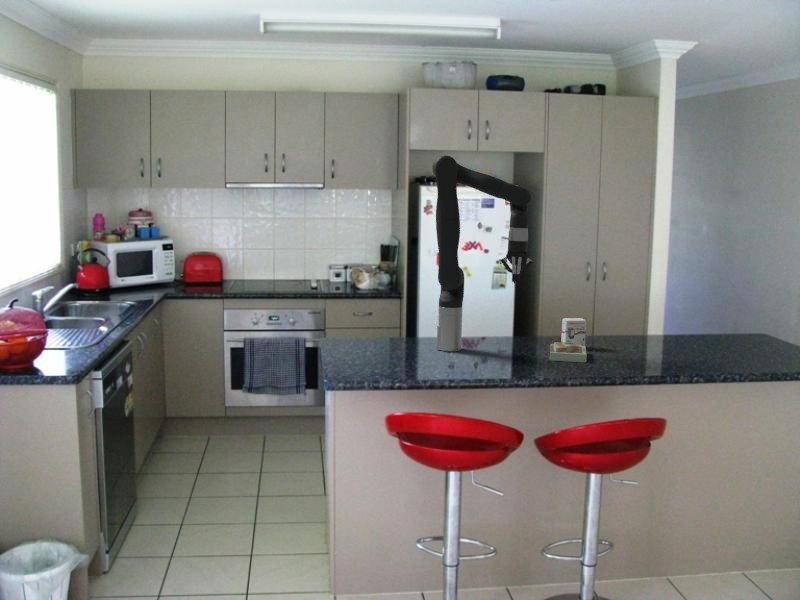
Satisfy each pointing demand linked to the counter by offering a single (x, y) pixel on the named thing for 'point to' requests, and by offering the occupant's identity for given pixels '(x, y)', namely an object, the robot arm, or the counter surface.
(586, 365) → the counter surface
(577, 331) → the ink box
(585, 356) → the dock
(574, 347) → the t block
